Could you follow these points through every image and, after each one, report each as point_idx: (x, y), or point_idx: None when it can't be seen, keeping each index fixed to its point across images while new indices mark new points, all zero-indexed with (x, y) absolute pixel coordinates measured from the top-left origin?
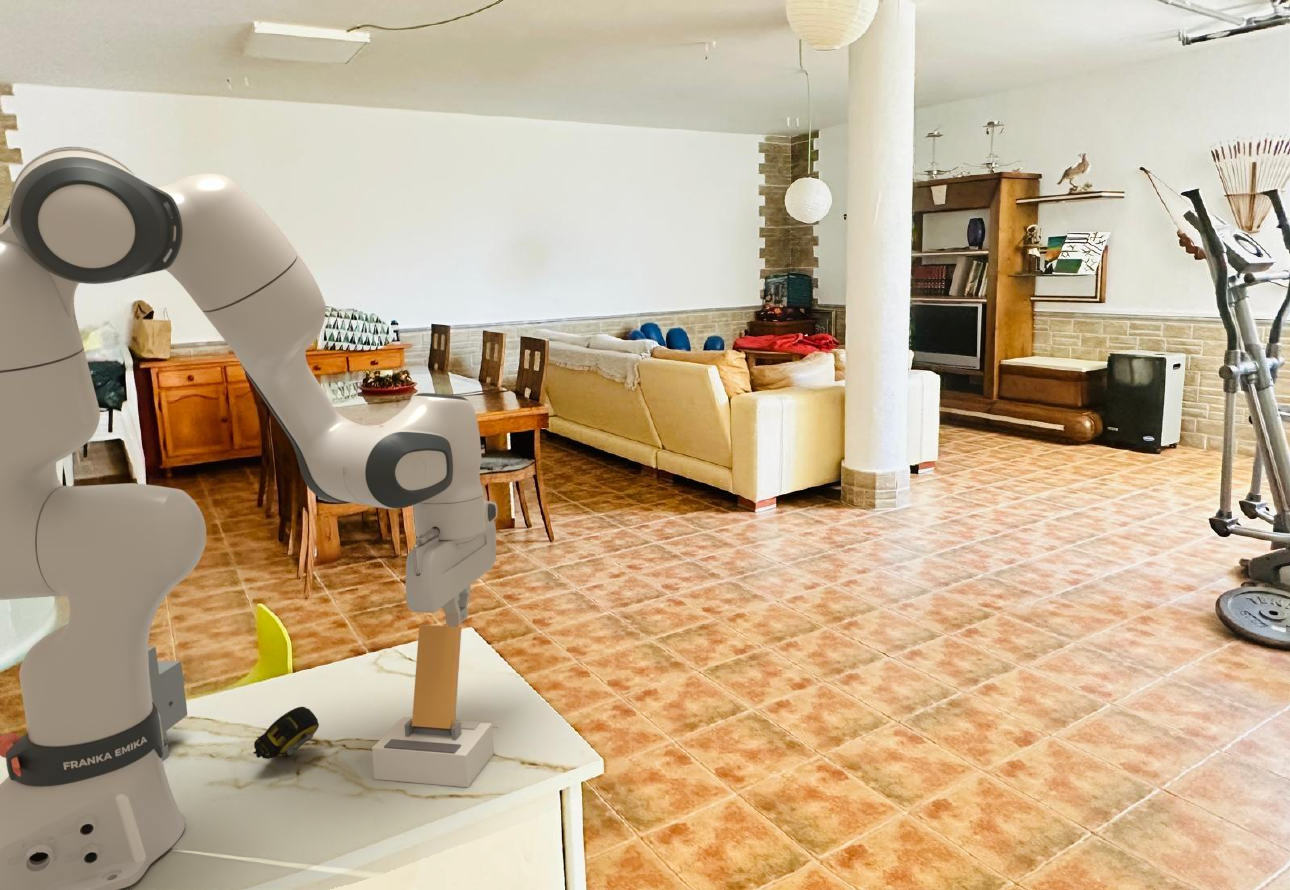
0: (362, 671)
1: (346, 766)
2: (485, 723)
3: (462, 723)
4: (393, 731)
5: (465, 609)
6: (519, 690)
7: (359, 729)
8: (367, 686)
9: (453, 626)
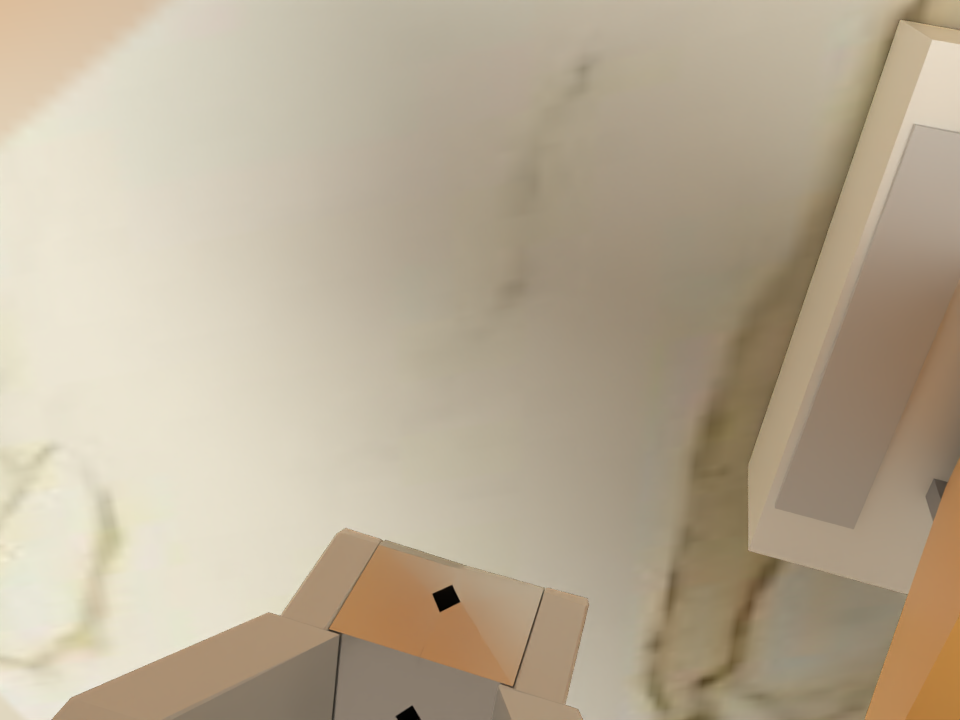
0: None
1: None
2: (923, 86)
3: (914, 235)
4: None
5: (348, 614)
6: (169, 23)
7: None
8: None
9: (942, 711)
